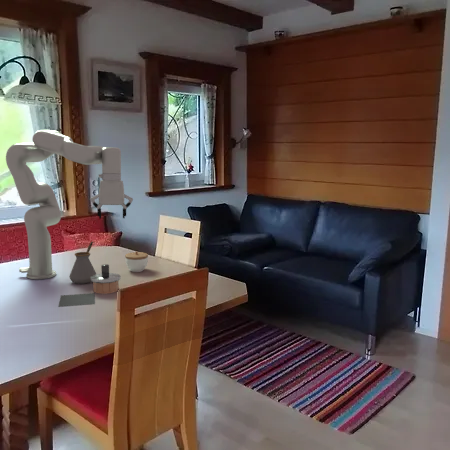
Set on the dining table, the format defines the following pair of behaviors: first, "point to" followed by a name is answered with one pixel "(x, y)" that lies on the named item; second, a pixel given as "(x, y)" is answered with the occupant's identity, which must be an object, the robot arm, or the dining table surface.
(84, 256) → the coffee pot
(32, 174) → the robot arm
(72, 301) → the mat
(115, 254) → the dining table surface
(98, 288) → the bowl
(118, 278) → the lid
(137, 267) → the lidded jar
